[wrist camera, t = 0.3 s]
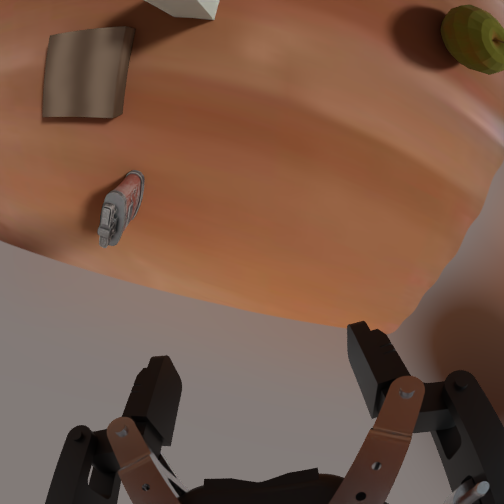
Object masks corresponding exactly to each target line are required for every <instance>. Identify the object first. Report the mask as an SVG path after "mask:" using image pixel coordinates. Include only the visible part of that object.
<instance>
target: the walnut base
mask: <svg viewBox="0 0 504 504" xmlns="http://www.w3.org/2000/svg"><path fill="white" fill-rule="evenodd" d="M134 34H135V28H131V27H127V26H123V27H108V28H97V29H88V30H80V31H73V32H67V33H61V34H56V35H51V36H50V38H49V44H48V51H47V58H46V67H45V77H44V90H43V117H97V118H114V117H117V116H119V115H121V114H122V113H123V103H124V95H125V87H126V79H127V73H128V66H129V60H130V54H131V49H132V44H133V39H134Z"/></svg>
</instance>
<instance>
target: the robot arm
mask: <svg viewBox="0 0 504 504" xmlns="http://www.w3.org/2000/svg"><path fill="white" fill-rule="evenodd" d="M347 338H348V339H347V342H348V343H347V346H348V357H349V361H350V364H351V366H352V369H353V371H354V374H355V377H356V379H357V382H358V384H359V386H360V389H361V392H362V394H363V397H364V399H365V402H366V405H367V407H368V410H369V412H370V415H371V418H372V419H373V418H376V417H377V420H376V422H375V424H374V426H373V428H371V429H370V431H369V433H368V435H367V437H366V439H365V441H364V443H363V445H362V447H361V449H360V451H359V453H358V454H357V456H356V458H355V460H354V462H353V464H352V466H351V468H350V469H349V471H348V473H347V475H346V476H345V478H343V477H340V476H336V475H331V474H319V473H318V468H313V469H309V470H303V471H297V472H292V473H287V474H284V475H281V476H279V477H276V478H273V479H270V480H267V481H264V482H251V481H243V480H237V479H232V478H230V479H204V485H203V486H200V487H197V488H194V489H192V490H190V491H189V490H188V489H187V487H186V486H185V485H184V484H183V483H182V482H181V481H180V479H179V478H178V476H177V475H176V473H175V472H174V471H173V469H172V468H171V466H170V465H169V463H168V462H167V460H166V459H165V457H164V456H163V454H162V453H161V452H160V451H161V446H171V442H172V437H173V431H174V426H175V421H176V416H177V411H178V406H179V402H180V397H181V392H182V382H181V379H180V376H179V374H178V373H177V371H176V369H175V367H174V365H173V363H172V361H171V359H170V358H169V356H167V355H166V356H155V357H152V358H151V359H150V362H149V364H148V367H147V368H143V370H142V371H141V372H140V373H139V374H138V375H137V377H136V380H135V383H134V386H133V388H132V390H131V391H132V392H131V393H130V396H129V398H128V401H127V404H126V407H125V410H124V413H123V415H122V417H119V418H117V419H115V420H113V421H112V422H111V423H110V424H109V426H108V428H107V429H105V430H100V431H96V432H92V431H91V430H90V429H89V428H88V427H87V426H84V425H79V426H76V427H74V428H73V429H72V430H71V431H70V432H69V433H68V435H67V438H66V441H65V444H64V446H63V449H62V452H61V455H60V458H59V460H58V463H57V466H56V469H55V472H54V475H53V479H52V482H51V485H50V488H49V492H48V495H47V499H46V502H45V504H117V500H118V494H119V489H120V484H121V481H122V483H123V485H124V487H125V489H126V491H127V493H128V495H129V497H130V499H131V501H132V503H133V504H388V503H386V502H385V500H386V498H387V496H388V494H389V492H390V490H391V488H392V486H393V484H394V481H395V479H396V477H397V474H398V472H399V470H400V468H401V465H402V462H403V460H404V457H405V455H406V452H407V450H408V447H409V444H410V442H411V438H412V433H420V432H429V431H430V432H431V434H432V437H433V439H434V442H435V444H436V447H437V450H438V452H439V455H440V458H441V460H442V463H443V466H444V469H445V472H446V475H447V477H448V481H449V484H450V487H451V490H452V493H451V494H450V495H449V496H448V497H447V499H446V500H445V502H444V504H504V427H503V425H502V423H501V421H500V420H499V418H498V416H497V414H496V412H495V411H494V409H493V407H492V405H491V403H490V402H489V400H488V398H487V397H486V395H485V393H484V392H483V390H482V389H481V387H480V385H479V384H478V382H477V380H476V379H475V377H474V376H473V375H472V374H471V373H469V372H467V371H463V370H458V371H454V372H452V373H451V374H449V375H448V377H447V378H446V380H445V381H444V382H435V383H423V382H422V381H421V380H419V379H418V378H416V377H413V376H411V375H410V374H409V372H408V370H407V368H406V367H405V365H404V363H403V362H402V360H401V358H400V356H399V355H398V353H397V352H396V351H395V348H394V346H393V345H392V344H391V342H390V340H389V338H388V337H387V335H386V334H384V333H383V332H381V331H380V330H379V329H375V330H372V331H370V329H369V327H368V326H367V324H366V322H365V321H361V322H357V323H353V324H349V325H348V326H347ZM91 465H92V466H93V470H92V475H91V478H90V482H89V485H88V476H89V472H90V469H91Z"/></svg>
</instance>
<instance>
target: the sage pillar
mask: <svg viewBox="0 0 504 504" xmlns="http://www.w3.org/2000/svg"><path fill="white" fill-rule="evenodd" d="M144 1H146V2H148V3H150V4H152V5H154V6H155V7H157V8H159V9H161V10H163V11H164V12H166V13H168V14H170V15H171V16H173V17H184V18H198V19H209V20H214V19H215V15H216V11H217V7H218V4H219V0H144Z"/></svg>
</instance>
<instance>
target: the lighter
mask: <svg viewBox="0 0 504 504" xmlns="http://www.w3.org/2000/svg"><path fill="white" fill-rule="evenodd" d="M143 191H144V176H143V174H142V173H141V172H139V171H137V170H132V171H130V172H129V173H128V174H127V175H126V177H125V179H124V180H123V181H122V182H121V183H120V184H119V185H118V186H117V187H116V188H115V189H114V190H112V191H110V192H109V193H108V194H107V196H106V198H105V201H104V203H103V206H102V211H101V216H100V226H99V228H98V235H100V239H99V245H100V246H101V247H103V248H107V246H108V245H111V246H114V245H116V244H117V243H118V242H119V240H120V238H121V235H122V233H123V231H124V230H125V228H126V227H127V225H128V224H129V222H130V221H131V220H133V219H134V217H135V216H136V214H137V212H138V210H139V207H140V204H141V201H142V198H143Z"/></svg>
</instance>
